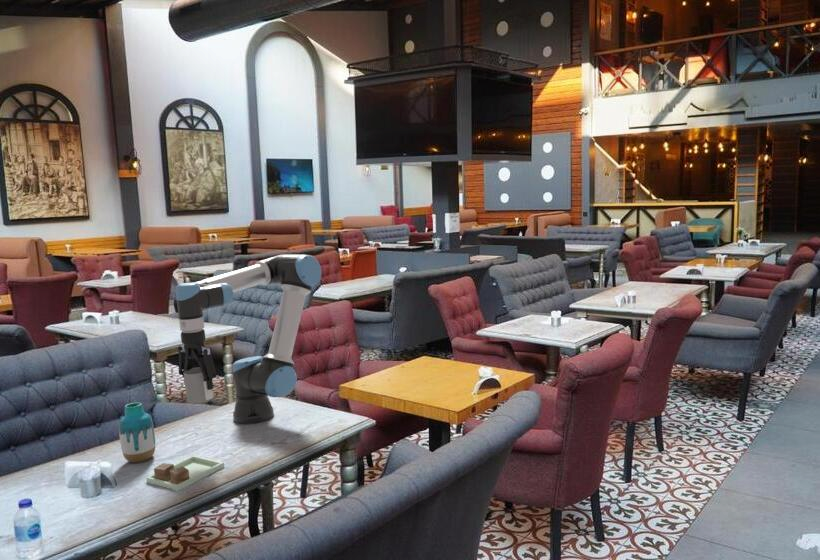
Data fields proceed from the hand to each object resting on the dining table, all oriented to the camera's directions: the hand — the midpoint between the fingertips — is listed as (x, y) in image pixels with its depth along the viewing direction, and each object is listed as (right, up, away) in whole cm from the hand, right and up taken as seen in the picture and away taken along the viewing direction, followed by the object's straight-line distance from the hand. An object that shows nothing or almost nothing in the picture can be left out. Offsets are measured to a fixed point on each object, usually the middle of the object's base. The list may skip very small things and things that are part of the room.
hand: (200, 397), depth 221 cm
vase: (-20, -21, 0) cm, 29 cm away
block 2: (+1, -22, -21) cm, 31 cm away
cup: (0, -1, 0) cm, 1 cm away
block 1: (-5, -22, -18) cm, 28 cm away
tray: (0, -22, -15) cm, 26 cm away
